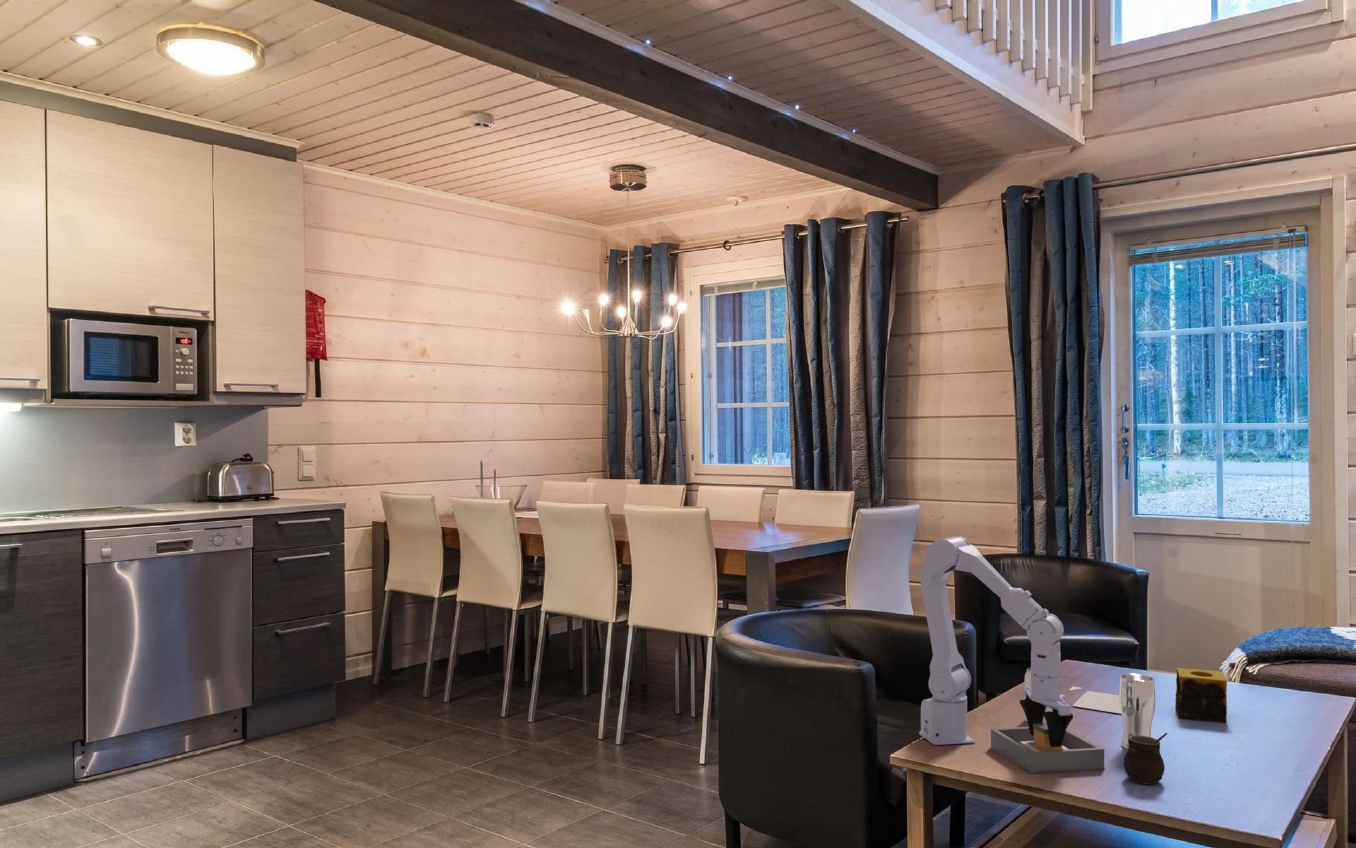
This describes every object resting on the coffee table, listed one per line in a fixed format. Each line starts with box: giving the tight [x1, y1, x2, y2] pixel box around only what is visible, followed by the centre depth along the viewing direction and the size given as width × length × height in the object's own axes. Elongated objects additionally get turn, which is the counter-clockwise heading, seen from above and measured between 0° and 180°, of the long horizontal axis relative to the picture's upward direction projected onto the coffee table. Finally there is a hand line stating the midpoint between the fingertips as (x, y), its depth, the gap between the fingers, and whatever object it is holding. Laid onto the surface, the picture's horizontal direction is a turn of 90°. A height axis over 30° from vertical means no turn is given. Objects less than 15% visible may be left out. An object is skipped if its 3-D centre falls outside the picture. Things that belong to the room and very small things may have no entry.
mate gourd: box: [1123, 732, 1168, 785], centre depth 188 cm, size 7×8×10 cm
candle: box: [1174, 667, 1228, 724], centre depth 231 cm, size 10×10×10 cm
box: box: [990, 726, 1105, 775], centre depth 200 cm, size 16×16×4 cm
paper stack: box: [1068, 685, 1122, 715], centre depth 246 cm, size 23×25×1 cm
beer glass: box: [1118, 673, 1156, 750], centre depth 207 cm, size 7×7×15 cm
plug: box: [1033, 723, 1062, 751], centre depth 201 cm, size 4×4×6 cm
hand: (1045, 740), depth 200 cm, fingers open, 7 cm apart
